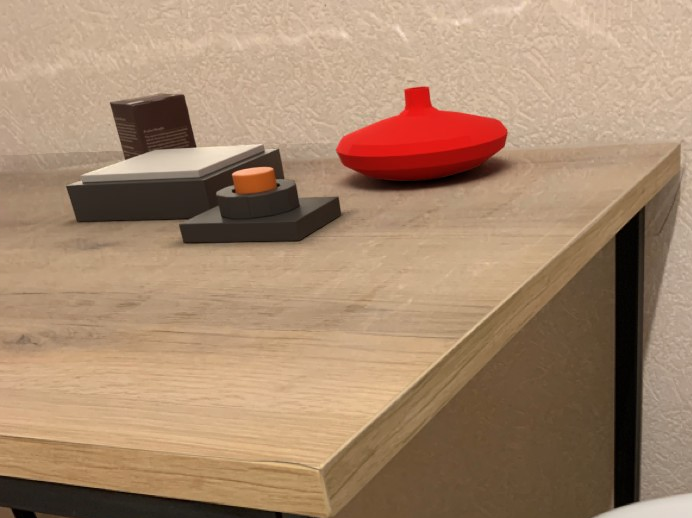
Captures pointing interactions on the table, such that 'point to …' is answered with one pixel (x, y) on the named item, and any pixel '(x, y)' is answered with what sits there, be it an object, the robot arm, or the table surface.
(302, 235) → the block
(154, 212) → the scale
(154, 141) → the box
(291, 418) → the table surface
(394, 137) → the red squat vase
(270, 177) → the button
